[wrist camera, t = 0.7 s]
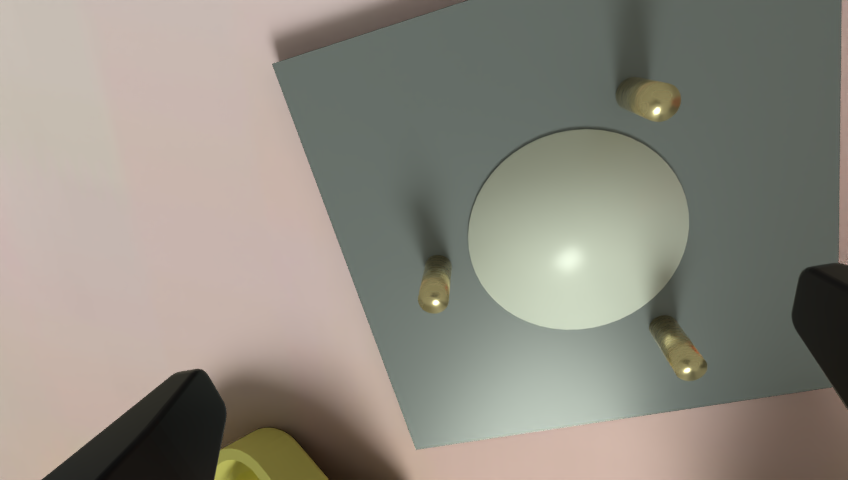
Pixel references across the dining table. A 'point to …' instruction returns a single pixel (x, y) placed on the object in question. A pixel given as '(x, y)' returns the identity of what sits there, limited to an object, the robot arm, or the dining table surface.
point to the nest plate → (579, 201)
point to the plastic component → (266, 458)
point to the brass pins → (678, 349)
